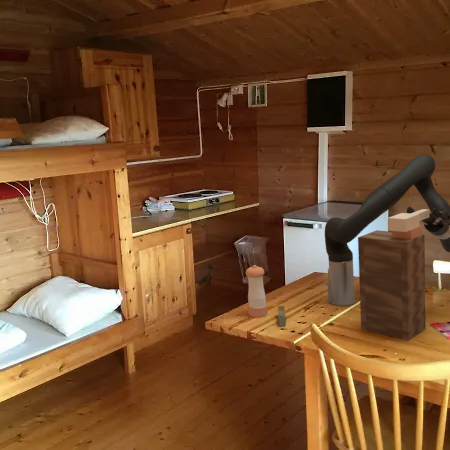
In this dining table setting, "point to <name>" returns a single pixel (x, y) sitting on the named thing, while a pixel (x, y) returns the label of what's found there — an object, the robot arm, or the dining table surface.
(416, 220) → the beige long block
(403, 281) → the walnut stand
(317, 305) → the dining table surface
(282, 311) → the medication box
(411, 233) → the terracotta block
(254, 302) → the pepper shaker
